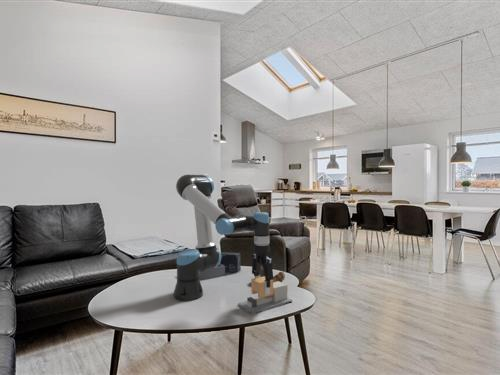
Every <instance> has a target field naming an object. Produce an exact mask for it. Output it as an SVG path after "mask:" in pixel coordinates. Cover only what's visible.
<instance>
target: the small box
mask: <svg viewBox="0 0 500 375" xmlns="http://www.w3.org/2000/svg"><path fill="white" fill-rule="evenodd" d="M220 264H221V265H224V266H225V273H234V272H238V273H240V271H241V268H242V267H241V265H242V263H241V252H224V251H223V252H221V262H220Z"/></svg>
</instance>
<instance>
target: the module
mask: <svg viewBox="0 0 500 375" xmlns="http://www.w3.org/2000/svg"><path fill="white" fill-rule="evenodd" d="M264 280H265V276H264V277H259V278H255V277H254V278H251V281H250V283H251V291H250V292H251V294H252V295H256V294H257V298H262V297H265V296H269V295H273V280H270V294H266V295H265V290H264Z"/></svg>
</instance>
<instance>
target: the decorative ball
mask: <svg viewBox="0 0 500 375" xmlns="http://www.w3.org/2000/svg"><path fill="white" fill-rule="evenodd" d="M258 276H260V277H264V276H265V275H264V271H263V267H262V266H261V269H260V275H258Z"/></svg>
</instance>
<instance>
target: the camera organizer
mask: <svg viewBox="0 0 500 375" xmlns="http://www.w3.org/2000/svg"><path fill="white" fill-rule="evenodd" d="M224 276H226V272H225V266H224V265H221V264H219V265H218V266H217V267H215V268H213V269H211V270H206V271H203V272H200V273H199V280H200V281H202V280H203V281H205V280H209V279H212V278H213V279H215V278H219V277H224Z"/></svg>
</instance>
